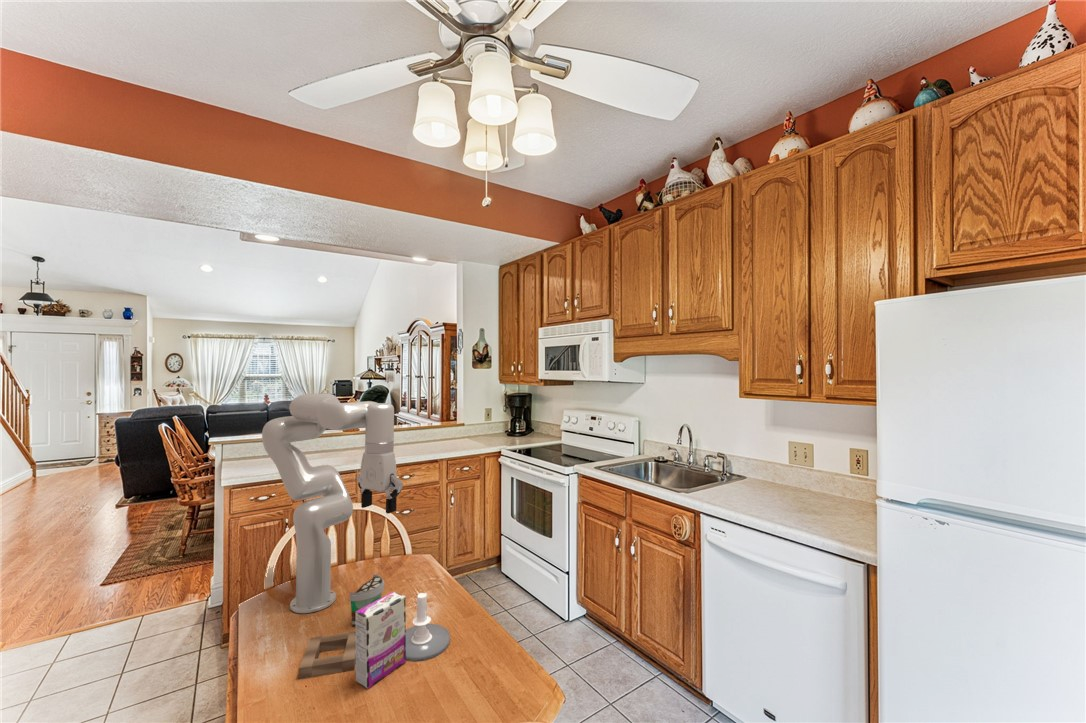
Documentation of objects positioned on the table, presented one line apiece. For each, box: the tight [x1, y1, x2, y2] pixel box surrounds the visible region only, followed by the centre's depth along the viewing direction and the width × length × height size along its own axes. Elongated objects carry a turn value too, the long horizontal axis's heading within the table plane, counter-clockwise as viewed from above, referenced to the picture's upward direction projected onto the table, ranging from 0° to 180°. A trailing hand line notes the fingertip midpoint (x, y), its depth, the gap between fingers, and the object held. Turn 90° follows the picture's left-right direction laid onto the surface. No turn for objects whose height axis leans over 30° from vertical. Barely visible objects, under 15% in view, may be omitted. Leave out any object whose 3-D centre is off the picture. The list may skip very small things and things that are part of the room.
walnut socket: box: [298, 631, 356, 680], centre depth 111 cm, size 12×12×2 cm
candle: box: [411, 592, 432, 645], centre depth 117 cm, size 5×5×12 cm
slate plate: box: [406, 623, 451, 662], centre depth 117 cm, size 14×14×1 cm
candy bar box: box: [354, 591, 407, 690], centre depth 106 cm, size 11×5×16 cm, turn 148°
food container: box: [348, 573, 385, 628], centre depth 129 cm, size 12×6×10 cm, turn 168°
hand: (378, 509), depth 124 cm, fingers open, 9 cm apart
